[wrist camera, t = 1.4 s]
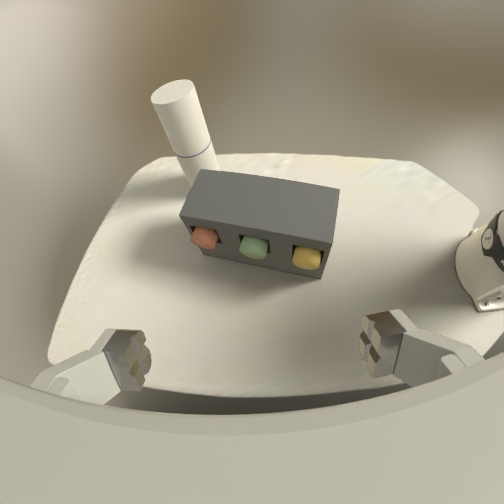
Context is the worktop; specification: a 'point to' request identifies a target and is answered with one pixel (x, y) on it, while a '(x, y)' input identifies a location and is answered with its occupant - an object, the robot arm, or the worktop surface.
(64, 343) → the worktop surface
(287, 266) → the control panel
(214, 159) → the cylindrical container
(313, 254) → the ochre button
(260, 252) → the sage green button
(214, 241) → the terracotta button
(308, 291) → the worktop surface
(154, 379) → the worktop surface
